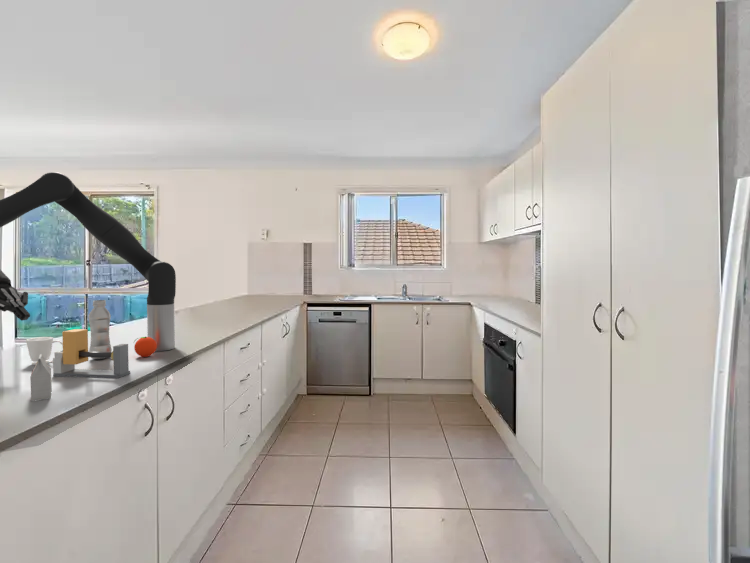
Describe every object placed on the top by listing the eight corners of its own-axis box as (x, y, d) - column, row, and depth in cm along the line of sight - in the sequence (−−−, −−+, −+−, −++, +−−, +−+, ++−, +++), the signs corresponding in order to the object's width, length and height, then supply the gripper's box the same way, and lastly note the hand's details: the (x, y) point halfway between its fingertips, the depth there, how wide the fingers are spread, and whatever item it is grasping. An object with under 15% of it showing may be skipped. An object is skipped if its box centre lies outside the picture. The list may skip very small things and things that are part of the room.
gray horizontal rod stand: (53, 375, 121) (52, 345, 120) (67, 371, 126) (66, 341, 125) (118, 377, 119) (118, 347, 119) (130, 373, 124) (129, 343, 124)
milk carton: (51, 391, 107) (50, 352, 106) (50, 398, 102) (49, 358, 101) (33, 393, 105) (31, 354, 104) (31, 401, 99) (29, 360, 99)
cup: (28, 362, 137) (28, 337, 136) (66, 358, 142) (65, 335, 141) (24, 366, 130) (23, 341, 130) (63, 363, 136) (63, 338, 135)
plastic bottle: (93, 362, 137) (92, 301, 136) (86, 359, 141) (84, 300, 140) (115, 358, 142) (114, 300, 141) (107, 355, 147) (105, 299, 146)
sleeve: (63, 364, 121) (62, 331, 120) (75, 360, 125) (75, 329, 125) (76, 364, 120) (75, 331, 120) (88, 360, 125) (87, 329, 124)
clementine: (127, 358, 143) (126, 338, 142) (139, 354, 150) (138, 334, 149) (149, 359, 142) (149, 338, 142) (161, 354, 149) (160, 334, 149)
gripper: (-29, 268, 117) (13, 312, 117) (15, 267, 130) (53, 307, 130) (-46, 287, 118) (-4, 330, 117) (0, 284, 131) (38, 323, 130)
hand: (26, 318), depth 123 cm, fingers closed
